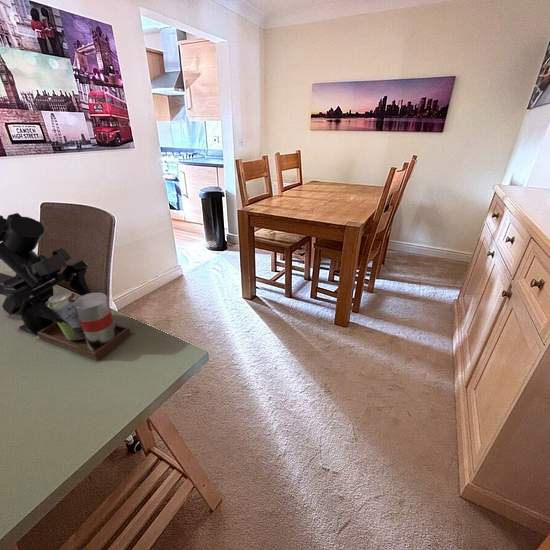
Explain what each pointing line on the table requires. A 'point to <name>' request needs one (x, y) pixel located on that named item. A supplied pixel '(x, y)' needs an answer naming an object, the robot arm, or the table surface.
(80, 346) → the drinks tray
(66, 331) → the beverage can
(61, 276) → the robot arm
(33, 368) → the table surface
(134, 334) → the table surface
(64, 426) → the table surface
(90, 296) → the can
